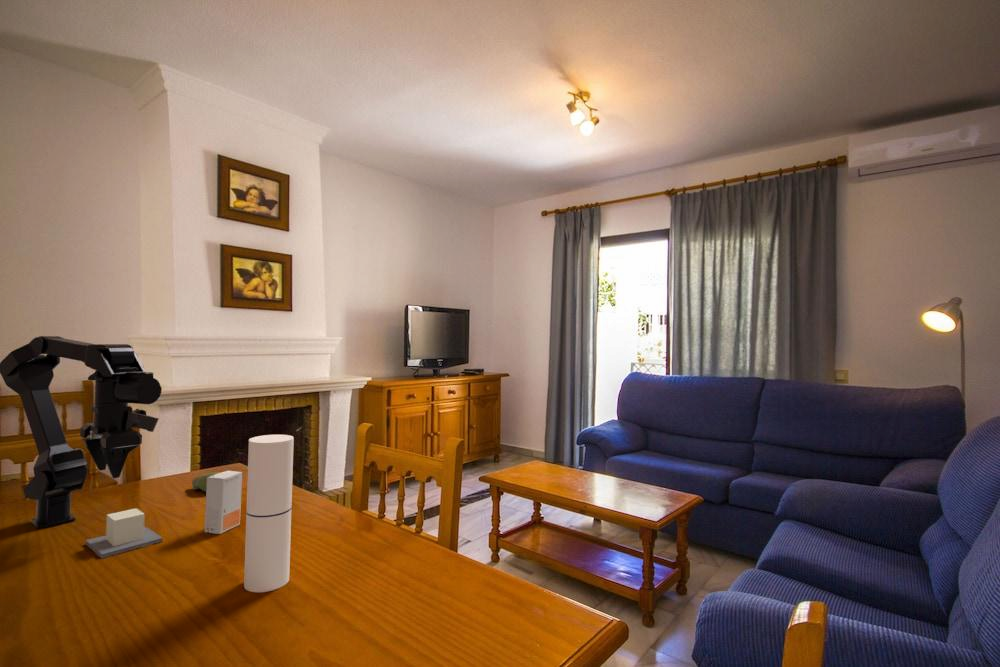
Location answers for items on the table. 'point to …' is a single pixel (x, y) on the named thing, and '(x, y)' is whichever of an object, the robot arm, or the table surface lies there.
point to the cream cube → (125, 526)
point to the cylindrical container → (268, 512)
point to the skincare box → (223, 501)
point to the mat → (108, 549)
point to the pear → (201, 481)
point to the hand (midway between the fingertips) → (108, 473)
